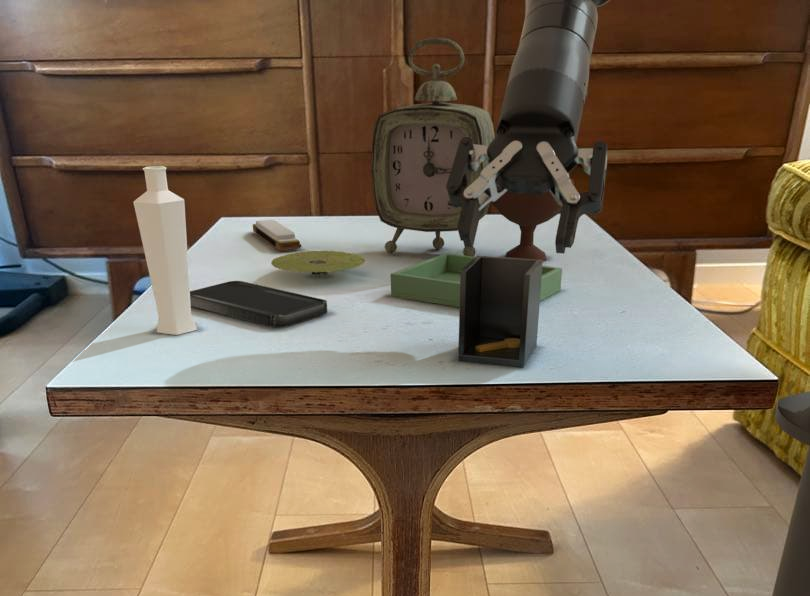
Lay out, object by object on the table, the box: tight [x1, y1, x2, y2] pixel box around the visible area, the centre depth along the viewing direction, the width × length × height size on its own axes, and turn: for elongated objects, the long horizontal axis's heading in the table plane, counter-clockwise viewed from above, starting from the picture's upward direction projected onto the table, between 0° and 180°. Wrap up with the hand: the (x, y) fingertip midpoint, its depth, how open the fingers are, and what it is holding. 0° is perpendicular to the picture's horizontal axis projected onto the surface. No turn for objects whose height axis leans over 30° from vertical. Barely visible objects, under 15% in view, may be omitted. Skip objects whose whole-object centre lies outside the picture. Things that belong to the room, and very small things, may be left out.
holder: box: [457, 255, 544, 368], centre depth 78 cm, size 6×6×8 cm
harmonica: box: [252, 219, 302, 251], centre depth 124 cm, size 15×3×2 cm, turn 23°
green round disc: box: [270, 250, 366, 278], centre depth 106 cm, size 11×11×2 cm
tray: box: [390, 252, 563, 308], centre depth 99 cm, size 15×12×2 cm
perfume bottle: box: [132, 165, 198, 336], centre depth 84 cm, size 5×4×15 cm
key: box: [476, 338, 520, 352], centre depth 80 cm, size 5×2×1 cm, turn 117°
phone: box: [190, 280, 328, 328], centre depth 94 cm, size 8×1×15 cm
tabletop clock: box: [370, 37, 496, 257], centre depth 112 cm, size 14×9×25 cm, turn 73°
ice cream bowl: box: [491, 173, 575, 262], centre depth 111 cm, size 11×11×15 cm
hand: (512, 245), depth 79 cm, fingers open, 8 cm apart
